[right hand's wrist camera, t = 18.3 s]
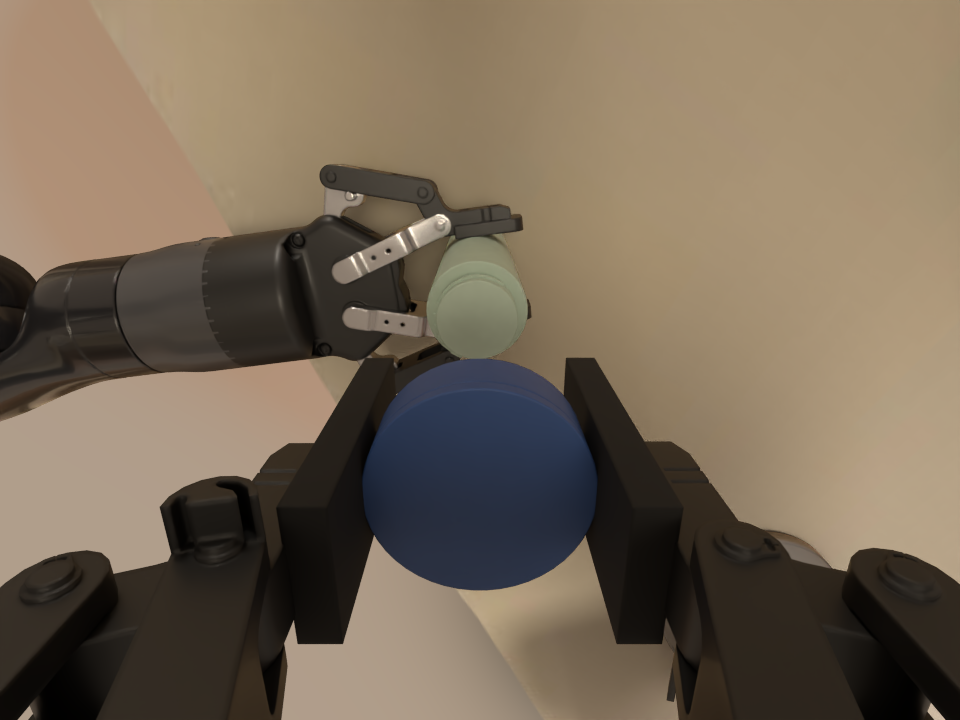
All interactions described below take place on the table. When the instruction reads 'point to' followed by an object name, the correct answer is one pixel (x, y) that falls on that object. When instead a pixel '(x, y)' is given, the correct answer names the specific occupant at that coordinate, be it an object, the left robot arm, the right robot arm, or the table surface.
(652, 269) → the table surface
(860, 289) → the table surface
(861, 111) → the table surface
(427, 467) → the lid
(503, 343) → the bottle
